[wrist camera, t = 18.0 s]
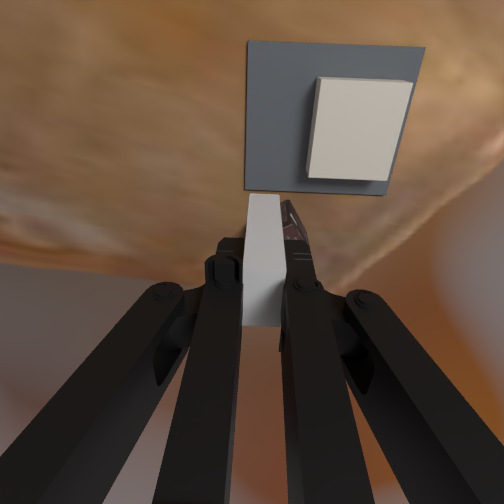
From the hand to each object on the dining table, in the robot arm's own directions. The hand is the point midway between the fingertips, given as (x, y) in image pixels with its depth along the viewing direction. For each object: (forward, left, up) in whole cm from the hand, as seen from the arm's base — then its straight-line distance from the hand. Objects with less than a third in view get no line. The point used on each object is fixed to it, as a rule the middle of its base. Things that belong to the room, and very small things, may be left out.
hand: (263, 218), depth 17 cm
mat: (+7, 0, -24) cm, 25 cm away
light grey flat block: (+5, 0, -22) cm, 23 cm away
